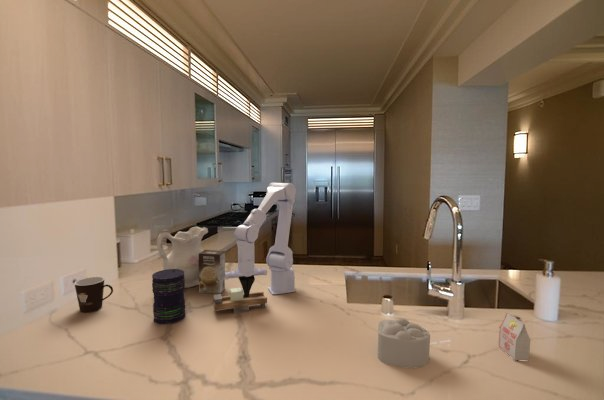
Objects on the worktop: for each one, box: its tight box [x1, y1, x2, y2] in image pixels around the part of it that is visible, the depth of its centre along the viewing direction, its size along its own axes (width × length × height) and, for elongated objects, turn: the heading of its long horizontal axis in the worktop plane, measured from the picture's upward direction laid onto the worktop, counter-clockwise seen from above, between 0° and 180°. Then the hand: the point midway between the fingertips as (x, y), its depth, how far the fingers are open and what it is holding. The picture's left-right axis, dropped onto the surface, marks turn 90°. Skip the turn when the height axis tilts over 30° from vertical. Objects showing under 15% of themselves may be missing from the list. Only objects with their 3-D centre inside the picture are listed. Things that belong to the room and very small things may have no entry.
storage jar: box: [151, 269, 186, 326], centre depth 102 cm, size 10×10×15 cm
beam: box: [212, 291, 268, 314], centre depth 110 cm, size 18×6×5 cm, turn 111°
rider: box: [229, 287, 244, 302], centre depth 109 cm, size 4×4×4 cm
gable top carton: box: [498, 312, 531, 361], centre depth 84 cm, size 4×7×10 cm, turn 179°
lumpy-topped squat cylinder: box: [377, 317, 431, 369], centre depth 83 cm, size 10×13×9 cm
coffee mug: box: [74, 276, 114, 314], centre depth 108 cm, size 12×9×10 cm
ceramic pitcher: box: [156, 226, 209, 289], centre depth 133 cm, size 22×20×25 cm
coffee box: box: [198, 249, 226, 295], centre depth 126 cm, size 9×6×16 cm
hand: (246, 296), depth 110 cm, fingers closed
